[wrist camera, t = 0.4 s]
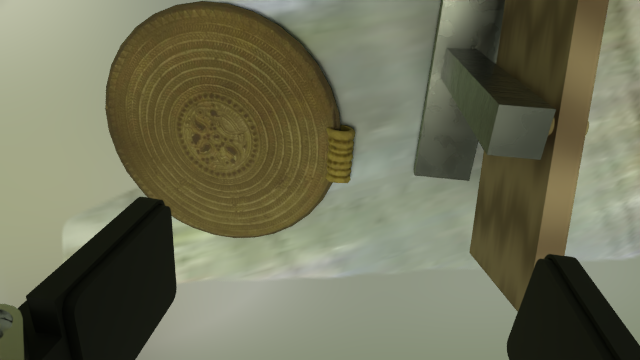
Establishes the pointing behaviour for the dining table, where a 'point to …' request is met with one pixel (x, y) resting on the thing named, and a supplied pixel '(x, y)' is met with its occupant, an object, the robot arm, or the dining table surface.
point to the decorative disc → (225, 120)
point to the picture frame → (561, 145)
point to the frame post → (475, 96)
